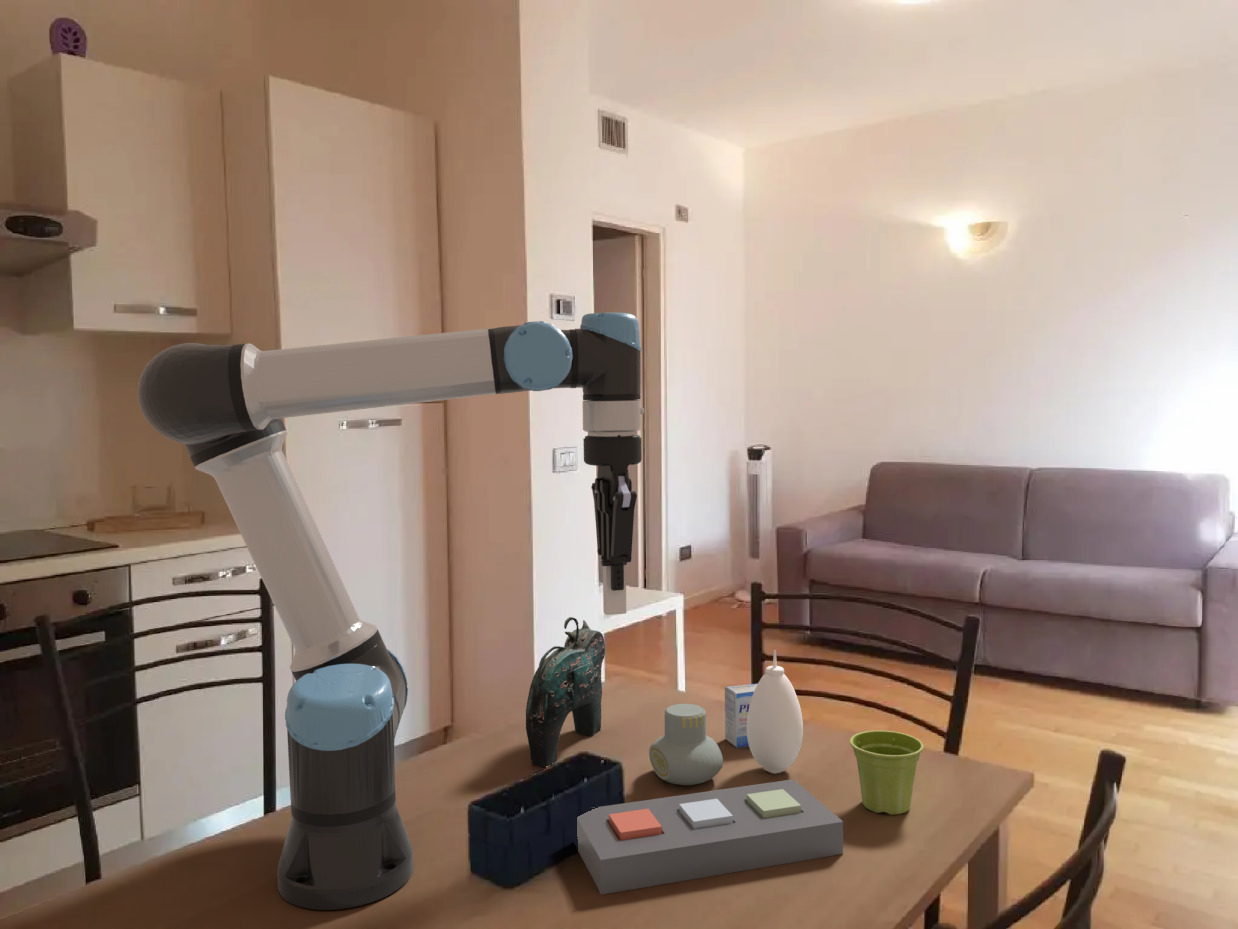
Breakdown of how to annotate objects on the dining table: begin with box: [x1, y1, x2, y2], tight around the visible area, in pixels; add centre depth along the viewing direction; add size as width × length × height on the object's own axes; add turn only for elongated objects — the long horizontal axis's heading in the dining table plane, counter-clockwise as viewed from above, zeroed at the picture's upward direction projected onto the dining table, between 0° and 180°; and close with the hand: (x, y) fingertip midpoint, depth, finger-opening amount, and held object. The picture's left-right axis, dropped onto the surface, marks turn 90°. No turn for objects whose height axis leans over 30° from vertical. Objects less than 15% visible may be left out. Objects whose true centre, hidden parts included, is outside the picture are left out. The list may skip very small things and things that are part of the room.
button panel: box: [577, 779, 844, 895], centre depth 118 cm, size 30×13×4 cm, turn 106°
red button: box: [609, 809, 662, 841], centre depth 115 cm, size 5×5×3 cm
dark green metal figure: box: [525, 616, 606, 768], centre depth 151 cm, size 20×6×20 cm, turn 154°
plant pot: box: [849, 730, 925, 815], centre depth 129 cm, size 9×9×9 cm
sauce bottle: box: [747, 649, 804, 775], centre depth 140 cm, size 8×8×18 cm
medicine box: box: [724, 683, 758, 749], centre depth 153 cm, size 8×4×9 cm, turn 106°
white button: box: [679, 799, 733, 829], centre depth 118 cm, size 5×5×3 cm
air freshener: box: [648, 703, 724, 786], centre depth 139 cm, size 11×8×10 cm
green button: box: [747, 789, 801, 819], centre depth 120 cm, size 5×5×3 cm
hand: (614, 612), depth 128 cm, fingers closed
